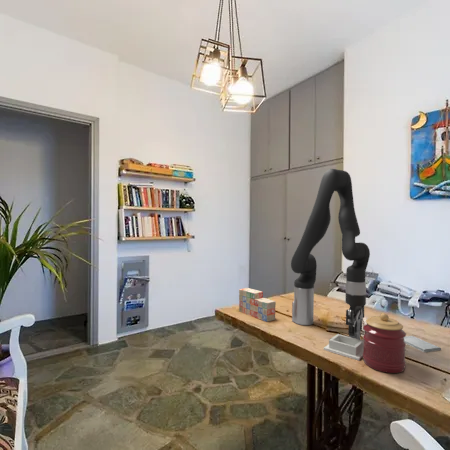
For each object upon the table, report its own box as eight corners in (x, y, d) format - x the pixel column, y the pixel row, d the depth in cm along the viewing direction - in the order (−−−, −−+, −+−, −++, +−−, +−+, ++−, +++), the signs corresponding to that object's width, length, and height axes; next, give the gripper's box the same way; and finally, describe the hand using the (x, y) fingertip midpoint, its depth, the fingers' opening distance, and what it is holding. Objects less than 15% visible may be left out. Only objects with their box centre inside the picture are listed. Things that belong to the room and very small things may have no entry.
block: (349, 343, 120) (349, 319, 120) (352, 340, 123) (352, 316, 123) (364, 348, 116) (365, 322, 116) (368, 345, 119) (368, 320, 118)
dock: (323, 349, 114) (323, 339, 114) (335, 341, 122) (335, 332, 122) (359, 360, 105) (359, 350, 105) (368, 350, 113) (369, 340, 113)
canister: (378, 353, 111) (378, 306, 111) (413, 368, 100) (414, 316, 100) (354, 360, 105) (355, 310, 105) (389, 377, 94) (390, 322, 94)
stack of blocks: (275, 319, 148) (276, 295, 148) (266, 322, 145) (266, 297, 144) (247, 309, 165) (247, 287, 165) (238, 311, 162) (238, 288, 162)
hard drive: (441, 347, 115) (412, 335, 127) (424, 349, 112) (397, 336, 124) (440, 351, 115) (412, 339, 127) (424, 354, 112) (397, 340, 124)
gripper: (352, 288, 128) (352, 325, 128) (339, 293, 117) (339, 334, 117) (371, 290, 123) (370, 330, 123) (359, 297, 112) (359, 340, 112)
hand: (355, 332), depth 120 cm, fingers open, 8 cm apart
